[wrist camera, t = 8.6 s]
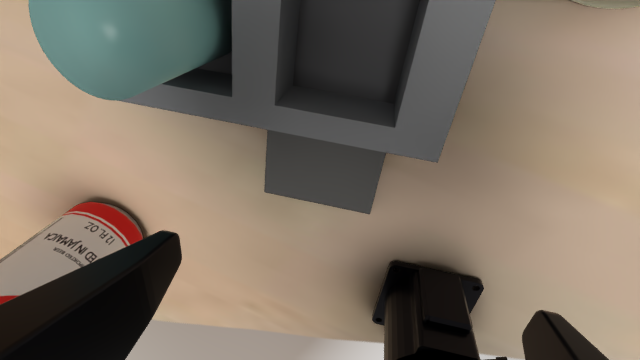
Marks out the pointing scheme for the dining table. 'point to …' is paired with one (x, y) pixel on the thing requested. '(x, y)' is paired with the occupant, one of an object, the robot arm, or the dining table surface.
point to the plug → (130, 40)
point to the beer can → (66, 247)
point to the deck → (322, 171)
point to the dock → (339, 71)
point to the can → (609, 3)
